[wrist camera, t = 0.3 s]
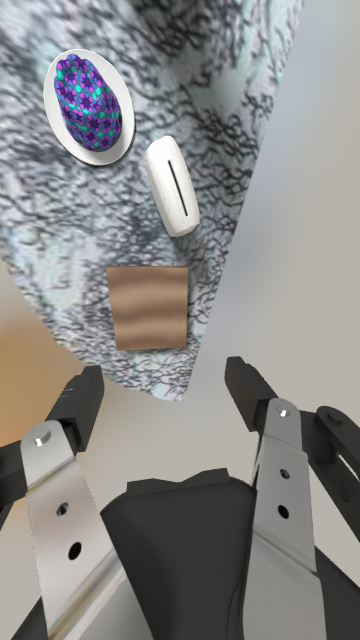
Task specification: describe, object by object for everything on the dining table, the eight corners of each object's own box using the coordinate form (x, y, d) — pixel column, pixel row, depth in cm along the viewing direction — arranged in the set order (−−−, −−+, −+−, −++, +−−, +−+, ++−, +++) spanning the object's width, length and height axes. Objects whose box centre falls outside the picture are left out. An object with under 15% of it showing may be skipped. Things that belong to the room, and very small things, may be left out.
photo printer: (144, 177, 30) (139, 136, 18) (168, 166, 30) (177, 118, 18) (169, 241, 34) (177, 239, 23) (190, 231, 34) (209, 225, 22)
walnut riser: (111, 265, 34) (105, 268, 30) (184, 265, 36) (188, 268, 32) (120, 341, 40) (117, 350, 36) (183, 337, 42) (186, 346, 38)
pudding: (47, 151, 27) (24, 130, 22) (46, 35, 23) (17, -20, 18) (128, 178, 30) (124, 165, 25) (141, 78, 26) (138, 40, 21)
